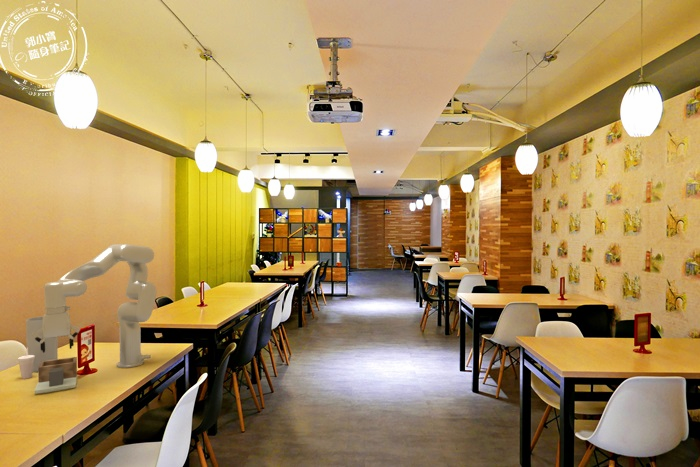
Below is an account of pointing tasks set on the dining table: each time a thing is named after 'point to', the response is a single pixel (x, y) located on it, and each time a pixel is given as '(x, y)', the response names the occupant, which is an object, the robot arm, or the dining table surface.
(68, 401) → the dining table surface
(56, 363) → the wooden box
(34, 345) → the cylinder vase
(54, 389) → the lid
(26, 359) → the smoothie
